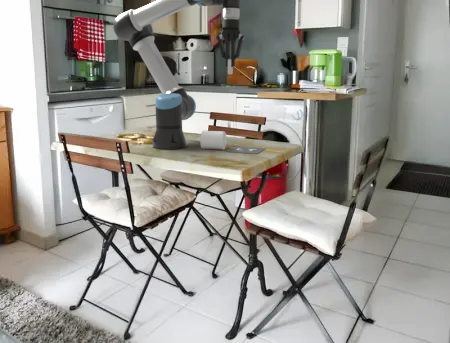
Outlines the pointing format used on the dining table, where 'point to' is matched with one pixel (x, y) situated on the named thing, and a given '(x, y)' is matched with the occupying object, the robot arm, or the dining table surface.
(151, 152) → the dining table surface
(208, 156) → the dining table surface
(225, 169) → the dining table surface
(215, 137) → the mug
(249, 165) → the dining table surface
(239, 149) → the tile
